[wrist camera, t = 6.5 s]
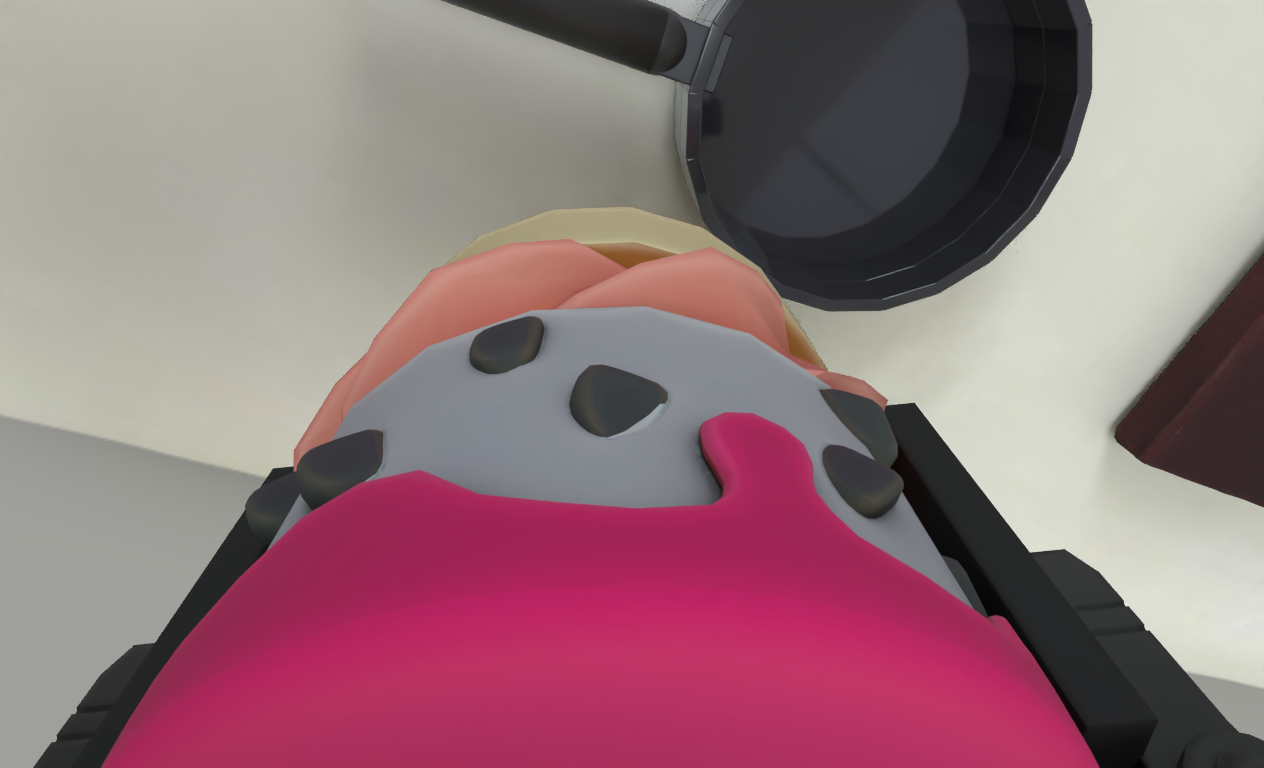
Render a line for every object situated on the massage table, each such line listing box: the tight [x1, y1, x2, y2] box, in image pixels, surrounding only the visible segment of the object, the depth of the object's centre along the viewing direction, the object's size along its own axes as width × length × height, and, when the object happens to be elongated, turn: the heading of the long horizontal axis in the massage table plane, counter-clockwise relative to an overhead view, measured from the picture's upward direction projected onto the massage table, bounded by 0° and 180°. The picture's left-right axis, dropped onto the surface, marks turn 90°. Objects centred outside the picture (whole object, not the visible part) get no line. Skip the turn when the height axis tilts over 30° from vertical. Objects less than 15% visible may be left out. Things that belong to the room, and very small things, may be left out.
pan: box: [674, 0, 1092, 311], centre depth 25 cm, size 13×13×4 cm
